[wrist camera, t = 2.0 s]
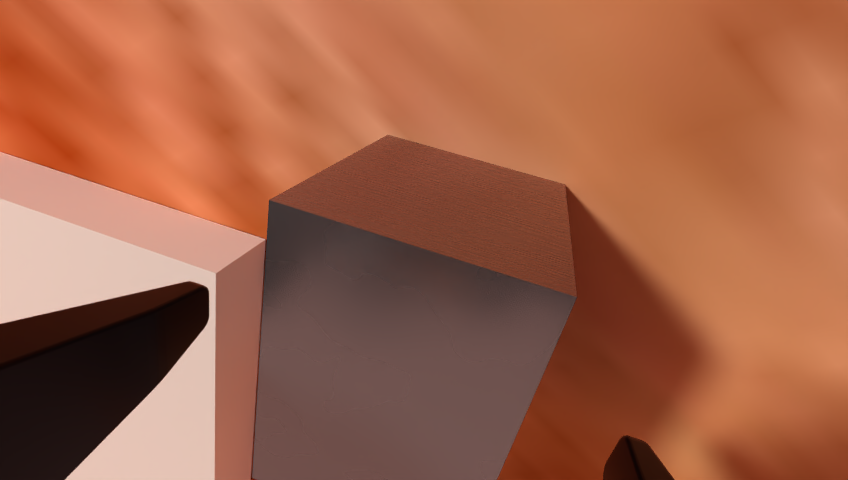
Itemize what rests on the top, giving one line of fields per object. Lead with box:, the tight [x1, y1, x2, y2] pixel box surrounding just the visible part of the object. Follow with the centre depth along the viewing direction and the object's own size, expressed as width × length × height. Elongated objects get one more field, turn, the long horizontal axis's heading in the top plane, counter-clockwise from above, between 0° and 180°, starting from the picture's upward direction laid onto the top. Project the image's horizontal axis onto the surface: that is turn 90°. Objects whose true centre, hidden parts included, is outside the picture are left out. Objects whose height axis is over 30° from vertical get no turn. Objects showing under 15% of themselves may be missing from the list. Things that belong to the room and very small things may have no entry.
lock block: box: [252, 135, 577, 480], centre depth 11 cm, size 5×7×6 cm
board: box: [0, 152, 266, 480], centre depth 18 cm, size 14×14×2 cm
